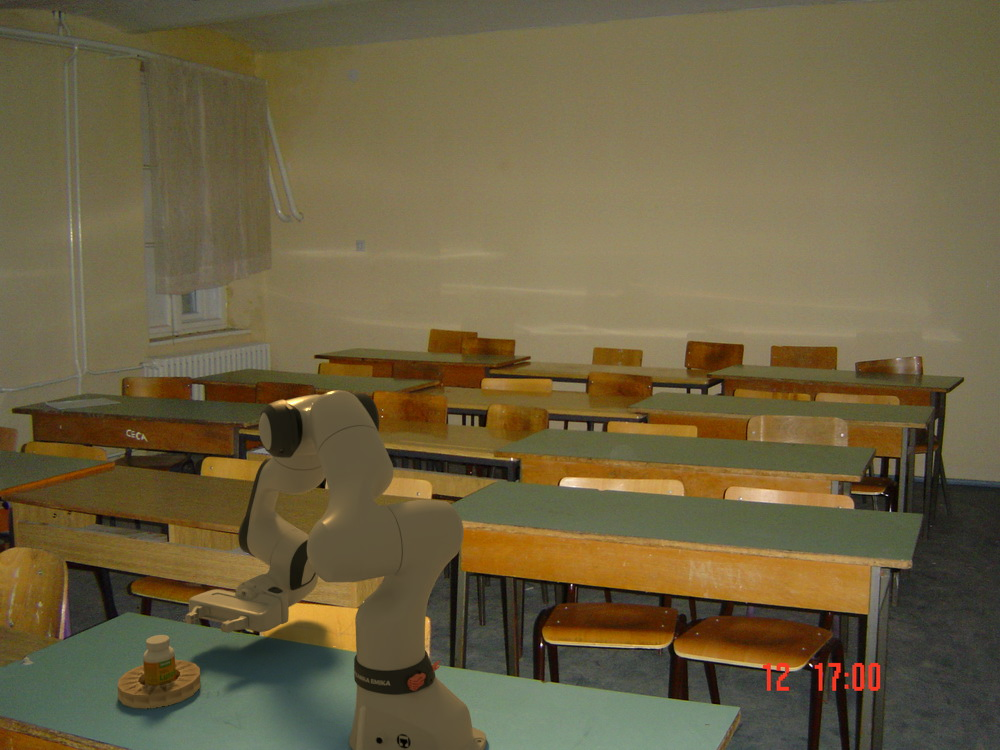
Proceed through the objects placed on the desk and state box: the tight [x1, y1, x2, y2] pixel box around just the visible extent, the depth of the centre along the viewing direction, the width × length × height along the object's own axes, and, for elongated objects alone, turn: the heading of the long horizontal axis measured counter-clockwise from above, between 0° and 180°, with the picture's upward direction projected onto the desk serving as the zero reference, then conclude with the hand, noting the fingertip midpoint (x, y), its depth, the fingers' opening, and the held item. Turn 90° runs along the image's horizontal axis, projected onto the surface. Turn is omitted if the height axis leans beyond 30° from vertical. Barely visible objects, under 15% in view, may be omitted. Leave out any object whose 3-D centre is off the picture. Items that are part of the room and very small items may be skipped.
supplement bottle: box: [142, 634, 176, 686], centre depth 169 cm, size 5×5×10 cm
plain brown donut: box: [117, 659, 201, 710], centre depth 170 cm, size 14×14×2 cm
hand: (205, 624), depth 179 cm, fingers open, 8 cm apart
